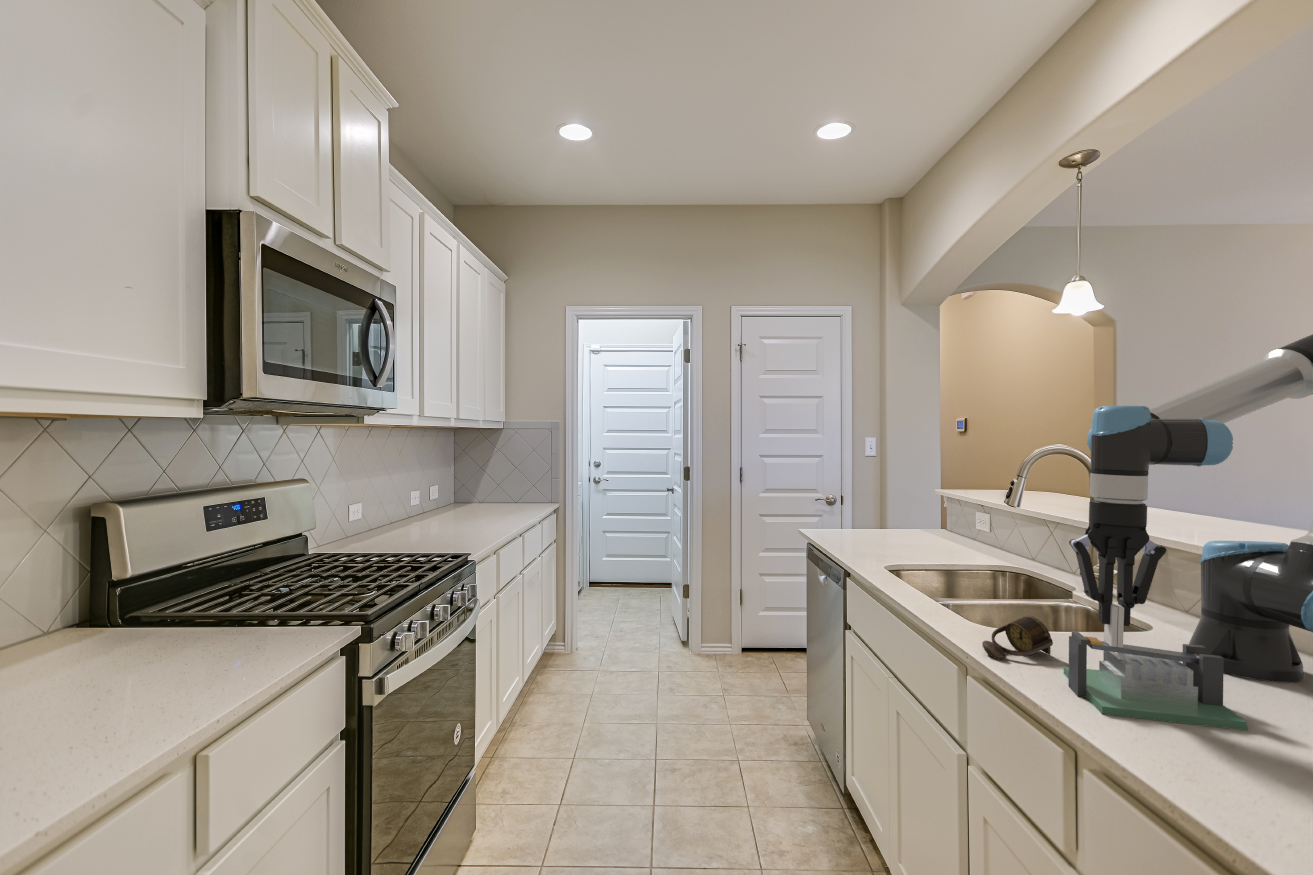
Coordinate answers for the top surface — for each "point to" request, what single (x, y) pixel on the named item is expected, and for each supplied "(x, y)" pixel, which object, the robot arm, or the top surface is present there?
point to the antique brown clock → (1021, 638)
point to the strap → (1144, 651)
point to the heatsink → (1148, 679)
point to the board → (1157, 707)
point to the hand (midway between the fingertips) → (1113, 643)
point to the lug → (1078, 663)
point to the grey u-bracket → (1207, 675)
